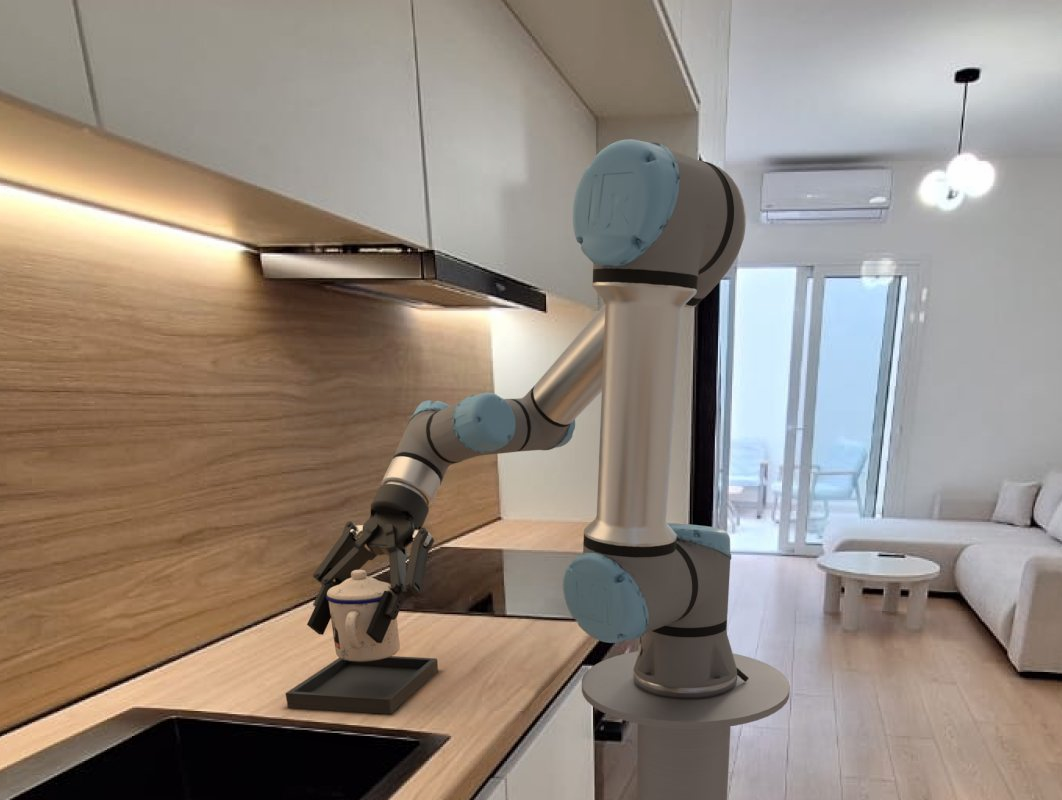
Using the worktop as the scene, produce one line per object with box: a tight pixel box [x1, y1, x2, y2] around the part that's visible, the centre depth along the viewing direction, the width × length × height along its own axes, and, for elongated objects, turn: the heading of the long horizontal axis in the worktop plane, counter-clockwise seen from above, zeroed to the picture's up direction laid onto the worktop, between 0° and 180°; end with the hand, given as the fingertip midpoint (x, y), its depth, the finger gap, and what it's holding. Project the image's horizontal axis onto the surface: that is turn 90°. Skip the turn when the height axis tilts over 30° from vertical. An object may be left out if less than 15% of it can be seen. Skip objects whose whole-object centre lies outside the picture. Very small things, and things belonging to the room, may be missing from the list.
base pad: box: [285, 655, 439, 715], centre depth 114 cm, size 15×17×2 cm
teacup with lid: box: [326, 569, 401, 662], centre depth 110 cm, size 12×9×12 cm
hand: (344, 633), depth 108 cm, fingers closed on teacup with lid, 9 cm apart
